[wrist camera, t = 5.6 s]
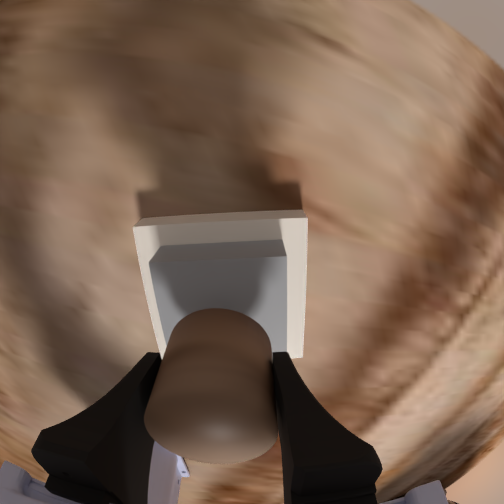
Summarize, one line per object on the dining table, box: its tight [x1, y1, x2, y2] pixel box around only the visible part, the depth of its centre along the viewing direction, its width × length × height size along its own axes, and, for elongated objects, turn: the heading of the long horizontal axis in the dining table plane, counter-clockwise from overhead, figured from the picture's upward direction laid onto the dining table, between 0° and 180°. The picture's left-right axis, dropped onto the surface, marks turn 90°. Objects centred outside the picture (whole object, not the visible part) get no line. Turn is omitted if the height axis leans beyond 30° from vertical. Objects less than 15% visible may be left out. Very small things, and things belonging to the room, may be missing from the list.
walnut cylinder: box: [144, 308, 278, 464], centre depth 13 cm, size 5×5×5 cm
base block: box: [133, 210, 308, 359], centre depth 21 cm, size 10×10×2 cm
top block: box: [149, 240, 287, 359], centre depth 18 cm, size 7×7×2 cm
